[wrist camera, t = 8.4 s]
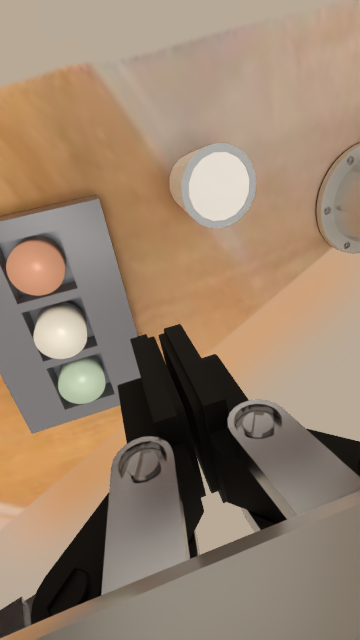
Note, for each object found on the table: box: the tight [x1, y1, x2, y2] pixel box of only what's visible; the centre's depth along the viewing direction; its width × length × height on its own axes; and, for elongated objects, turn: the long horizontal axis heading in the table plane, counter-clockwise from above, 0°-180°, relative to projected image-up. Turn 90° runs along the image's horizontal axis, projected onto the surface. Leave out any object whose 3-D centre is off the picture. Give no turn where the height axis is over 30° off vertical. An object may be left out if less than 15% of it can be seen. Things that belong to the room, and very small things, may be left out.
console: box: [0, 195, 141, 433], centre depth 36 cm, size 14×22×4 cm, turn 11°
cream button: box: [33, 302, 87, 359], centre depth 34 cm, size 5×5×3 cm
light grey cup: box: [169, 143, 256, 229], centre depth 32 cm, size 7×7×7 cm
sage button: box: [58, 355, 105, 404], centre depth 38 cm, size 5×5×3 cm
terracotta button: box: [6, 236, 66, 296], centre depth 32 cm, size 5×5×3 cm
